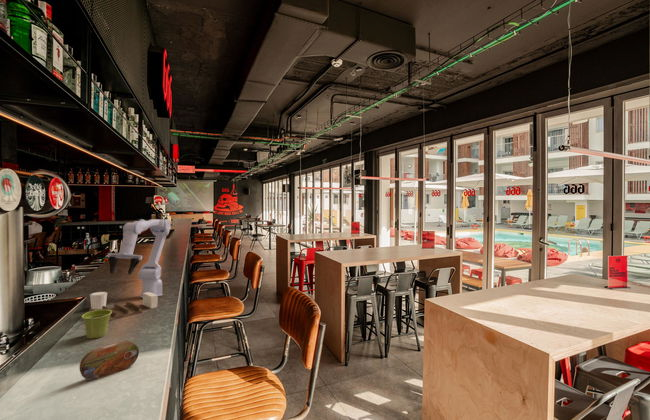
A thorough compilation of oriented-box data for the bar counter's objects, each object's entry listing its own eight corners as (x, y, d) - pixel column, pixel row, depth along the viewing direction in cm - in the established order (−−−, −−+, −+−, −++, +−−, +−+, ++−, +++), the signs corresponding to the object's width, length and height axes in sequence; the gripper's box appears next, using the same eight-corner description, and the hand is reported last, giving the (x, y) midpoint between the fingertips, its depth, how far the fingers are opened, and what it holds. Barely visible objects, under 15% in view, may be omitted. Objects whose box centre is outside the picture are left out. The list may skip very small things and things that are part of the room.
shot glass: (97, 310, 145) (97, 296, 145) (85, 309, 146) (86, 294, 146) (110, 305, 152) (110, 292, 152) (99, 304, 153) (99, 290, 153)
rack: (128, 306, 152) (128, 300, 152) (141, 312, 144) (141, 306, 144) (87, 315, 138) (87, 309, 138) (99, 323, 130) (99, 316, 130)
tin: (80, 385, 87) (80, 356, 87) (78, 380, 89) (78, 352, 89) (139, 365, 98) (139, 339, 98) (135, 361, 100) (136, 336, 100)
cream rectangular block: (148, 303, 158) (149, 291, 157) (157, 307, 152) (157, 295, 152) (142, 304, 155) (142, 293, 155) (151, 308, 150) (151, 296, 150)
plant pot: (117, 332, 121) (117, 311, 121) (92, 342, 112) (92, 319, 112) (100, 329, 124) (101, 308, 124) (75, 338, 116) (75, 315, 115)
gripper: (108, 242, 144) (99, 271, 139) (141, 245, 147) (134, 273, 142) (114, 246, 150) (106, 273, 145) (146, 248, 153) (139, 275, 148)
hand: (120, 273), depth 144 cm, fingers open, 7 cm apart
